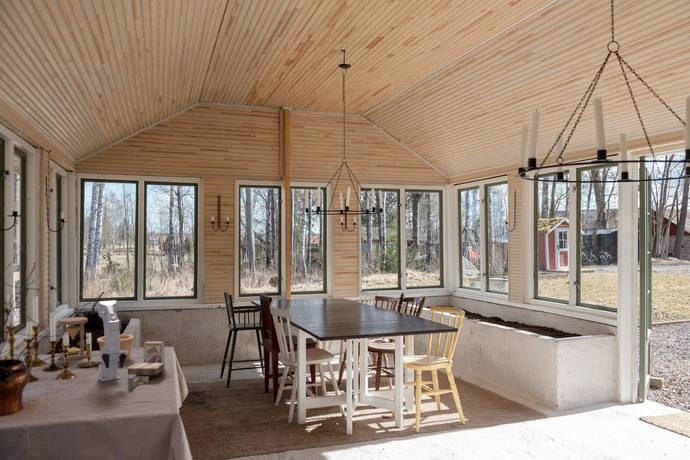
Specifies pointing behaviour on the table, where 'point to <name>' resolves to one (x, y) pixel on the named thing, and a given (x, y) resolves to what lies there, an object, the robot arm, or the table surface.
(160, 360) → the candy bar box
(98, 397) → the table surface
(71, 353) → the hourglass
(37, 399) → the table surface
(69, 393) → the table surface
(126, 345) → the pottery
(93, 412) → the table surface
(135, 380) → the grey t-shaped piece
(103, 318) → the robot arm
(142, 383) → the brass disc
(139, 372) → the tan cardboard box
